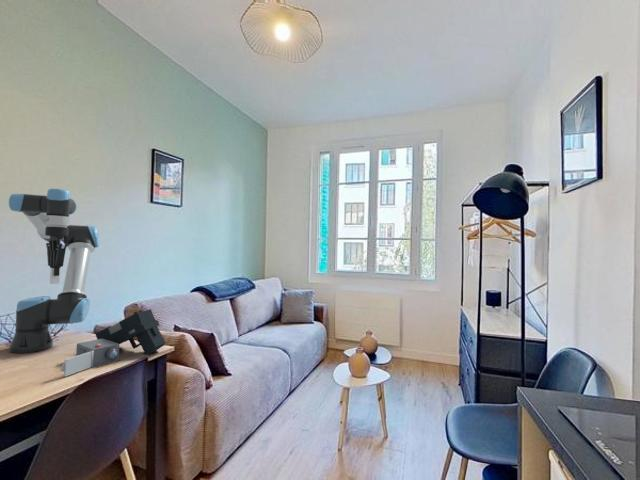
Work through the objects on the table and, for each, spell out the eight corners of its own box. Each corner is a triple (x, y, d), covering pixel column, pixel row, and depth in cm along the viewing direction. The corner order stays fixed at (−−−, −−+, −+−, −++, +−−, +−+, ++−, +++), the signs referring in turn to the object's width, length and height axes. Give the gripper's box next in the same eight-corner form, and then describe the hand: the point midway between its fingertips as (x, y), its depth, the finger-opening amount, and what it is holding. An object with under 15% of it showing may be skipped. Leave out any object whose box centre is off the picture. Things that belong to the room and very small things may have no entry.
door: (89, 366, 133) (90, 350, 133) (93, 366, 132) (94, 350, 132) (61, 376, 122) (61, 359, 122) (64, 377, 121) (65, 359, 121)
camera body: (75, 360, 139) (76, 341, 139) (101, 354, 148) (102, 336, 148) (95, 368, 131) (96, 348, 131) (121, 361, 140) (122, 342, 140)
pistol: (155, 350, 146) (138, 309, 149) (108, 372, 151) (92, 331, 153) (169, 344, 156) (153, 305, 158) (124, 365, 160) (109, 327, 162)
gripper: (39, 226, 137) (36, 283, 137) (53, 225, 131) (50, 285, 130) (60, 227, 144) (58, 281, 143) (75, 227, 137) (72, 284, 137)
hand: (54, 283), depth 137 cm, fingers closed
